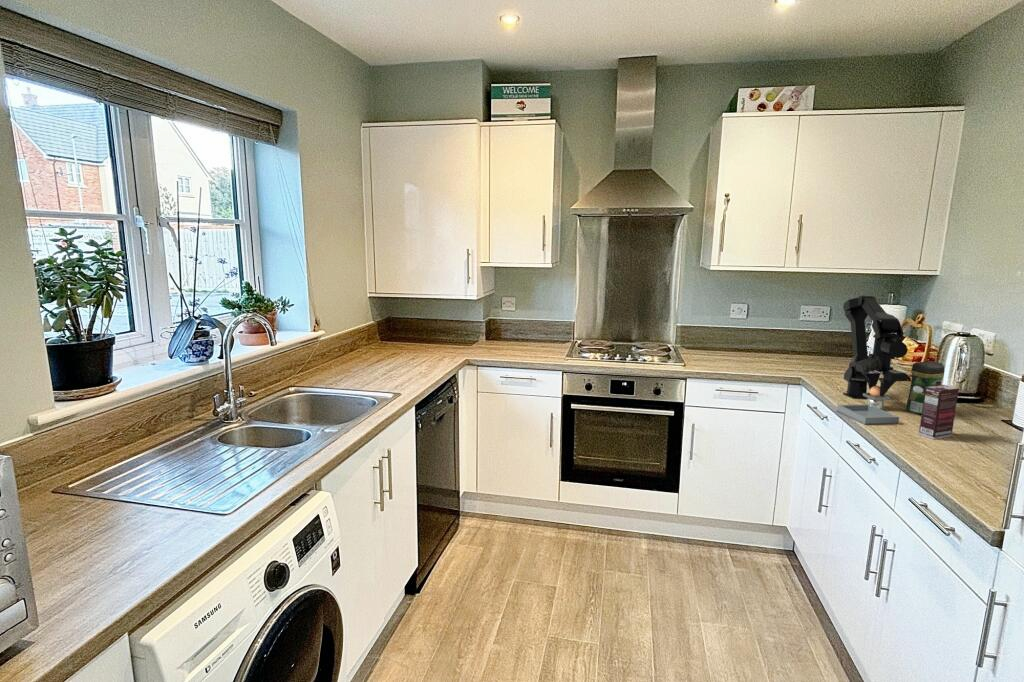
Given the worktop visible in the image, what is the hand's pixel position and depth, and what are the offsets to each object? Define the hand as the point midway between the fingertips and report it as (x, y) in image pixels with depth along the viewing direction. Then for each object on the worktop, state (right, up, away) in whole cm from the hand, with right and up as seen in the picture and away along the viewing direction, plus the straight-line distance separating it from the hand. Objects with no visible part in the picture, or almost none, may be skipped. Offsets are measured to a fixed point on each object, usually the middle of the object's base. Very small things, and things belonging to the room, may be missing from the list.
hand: (876, 394), depth 198 cm
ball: (0, -1, 0) cm, 1 cm away
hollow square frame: (0, -5, +1) cm, 5 cm away
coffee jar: (+14, -6, -3) cm, 16 cm away
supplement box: (0, -11, -27) cm, 29 cm away
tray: (-10, -7, -10) cm, 16 cm away
